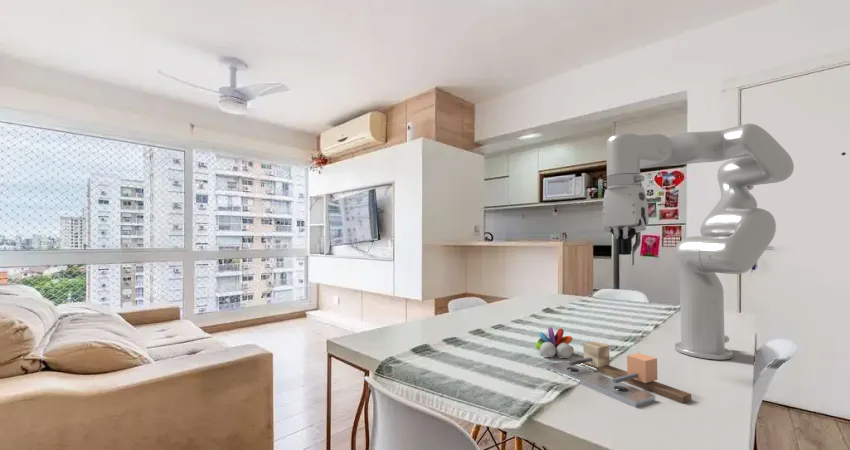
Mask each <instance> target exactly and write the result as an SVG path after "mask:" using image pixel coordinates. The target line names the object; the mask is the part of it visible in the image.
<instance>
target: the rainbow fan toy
mask: <svg viewBox="0 0 850 450" xmlns="http://www.w3.org/2000/svg"><path fill="white" fill-rule="evenodd" d="M564 332H565V331H564V329H563V328H559V329H557V331H556V333H555V332H554V329H553V328H552V327H549V328H548V336H547V335H546V334H545V333H543V332H539V333H538V335H539V337H540V338H539V339H537V342H536V343H535V348H536V349H537V350H539V351H540V353H541V355H542V356H543V357H544V356H546V357H551V358H553V357H555V356H556V354H557V356H558V357H559V358H560V357H562V358H561V359H563V358H567V359H569V358H570V357H571V356H572V354H573V353H574V351H575V349H574V347H573V346H571V345H570V343H571V342H572V341H573V337H572V336H571V335H566V336H564ZM546 357H545V358H546Z"/></svg>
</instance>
